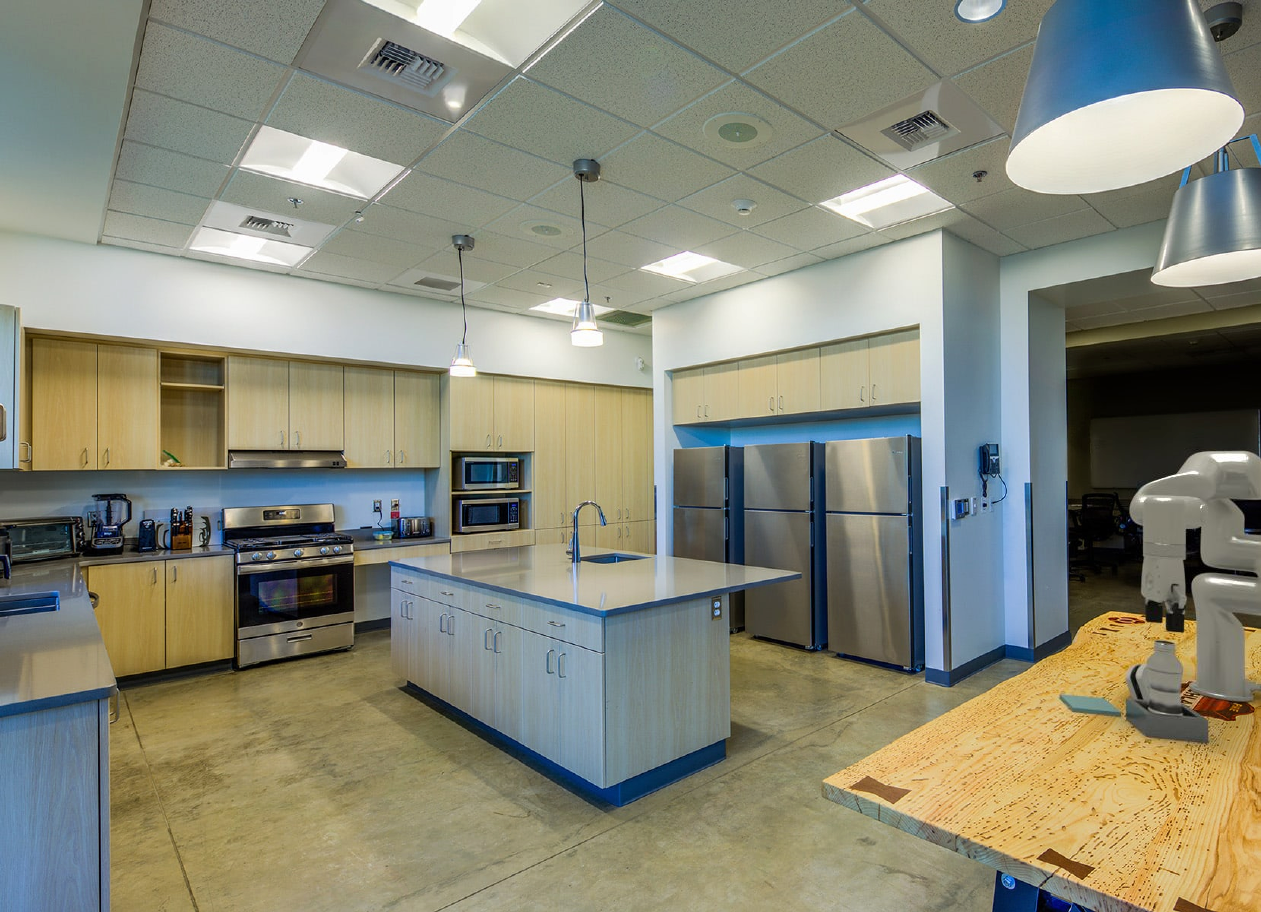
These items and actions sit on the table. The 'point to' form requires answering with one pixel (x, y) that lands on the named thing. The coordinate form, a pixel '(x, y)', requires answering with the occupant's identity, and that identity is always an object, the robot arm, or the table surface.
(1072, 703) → the board
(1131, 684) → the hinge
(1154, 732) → the square socket
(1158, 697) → the plastic bottle
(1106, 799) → the table surface
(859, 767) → the table surface
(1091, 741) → the table surface
